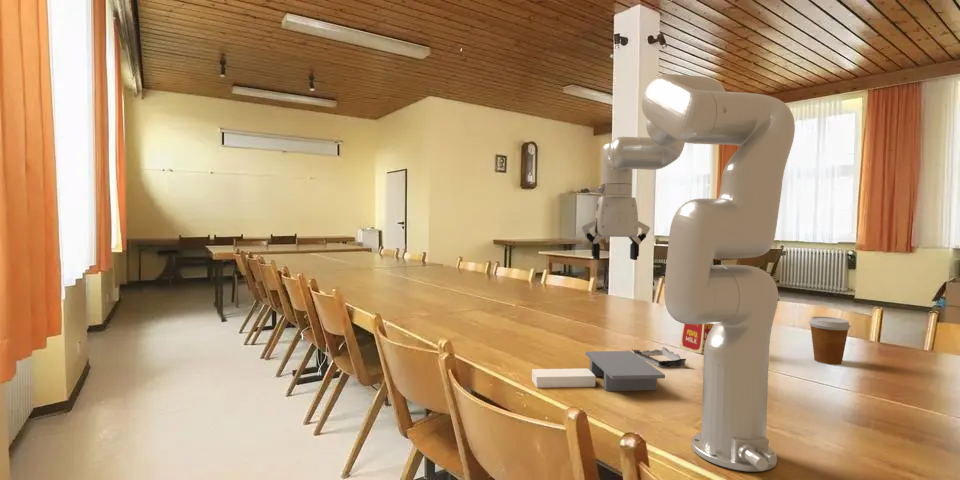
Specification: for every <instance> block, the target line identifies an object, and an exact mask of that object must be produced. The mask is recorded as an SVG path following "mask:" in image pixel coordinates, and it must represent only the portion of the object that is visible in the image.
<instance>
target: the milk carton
mask: <svg viewBox="0 0 960 480" xmlns="http://www.w3.org/2000/svg"><path fill="white" fill-rule="evenodd" d="M713 325H714V324H684V323H683V327H682V332H681V338H680V343H679V349H682V350H685V351H688V352H691V353H692V352H693V353H696V354H700V355H702V354H703V355H704V346H705V342H706V339H707V336H708V334H709V332H710V330H711V328H712V327H713Z"/></svg>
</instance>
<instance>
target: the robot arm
mask: <svg viewBox="0 0 960 480" xmlns="http://www.w3.org/2000/svg"><path fill="white" fill-rule="evenodd" d="M641 109H642V113H643V114H644V116H645V118H646V122H645V124H646V125H645V126H646V127H645V128H646V131H647V134H648V136H649V137H647V136H646V137H644V136H618V137H615V138H614V139H613V140H612V141H611V142H607V143H605V144H604V145H603V146H602V149H601V150H602V151H601V182H600V184H601V185H600V186H599V187H598V186H596V187H595V193H598V194H600V197H598V200H597V205H596V209H595V216H594V219H593V220H592V221H590V222H587V223H586V224H584V225H582V226H581V230H582V232H583V234H584V237H585V238H586V239H587V240H588V241H589V242H590V244H591V257H593V260H594V261H595V260H597V261H599V260H600V259H601V258H600V253H601V252H600V251H601V246H600V244H599V242H600V241H601V240H602V238H603V237H609V238H615V237H616V238H617V237H618V238H621V237H622V238H623V237H624V238H625V237H626V238H629V240H630V242H631V243H630V245H629V246H630V247H629V249H630V251H629V259H630V260H633V261H638V257H639V256H640V245H641V243H642V242H643V241H644V240H645V239H646V237H647V235H648V234H649V231H650V230H651V227H650V226H648V225H646V223H645V224H644V223H643V222H641V221H639V213H638V205H637V200H636V197H633V170H645V171H646V170H649V171H650V170H651V171H652V170H660V169H663V168H665V167H668V166H669V165H670V164H672V163H674V162H676V160H678V159H679V157H680V156H681V154H682V152H683V150H684V147H685V144H694V145H695V144H697V145H715V146H717V145H727V146H739V148H737V150H736V151H735V152H734V153H733V154H732V156H730V158H729V159H728V161H727V163H726V164H725V167H724V168H723V171H722V176H721V184H720V191H719V195H718V198H696V199H690V200H688V201H685V202H684V203H683V204H682V205H681V206H680V207H678V209H677V210H676V212H675V214H674V215H673V218H672V221H671V223H670V228H669V235H668V245H667V252H666V253H667V254H666V265H665V275H664V284H663V285H664V288H663V295H664V303H665V307H666V309H667V312H668V314H669V316H670V317H671V318H672V319H673V320H674V321H677V322H678V323H681V324H683V325H684V324H714V325H713V327H712V328H711V330H710V332H709V334H708V336H707V339H706V342H705V346H704V354H703V368H702V369H703V370H702V407H701V410H702V411H701V412H702V413H701V416H702V417H701V431H700V432H698V433H696V434H694V435H693V436H692V437H691V448H692V450H693V451H694V453H696V454H697V455H698V456H699V457H700V458H702V459H703V460H705V461H707V462H709V463H711V464H713V465H717V466H720V467H722V468H726V469H729V470H730V469H731V470H735V471H741V472H752V473H753V472H754V473H756V472H765V471H768V470H771V469H773V468H774V467H776V466H777V462H778V458H777V457H778V456H777V454H776V452H775V451H774V450H773V448H771V447H770V445H769V442H770V440H769V438H767V421H768V419H767V417H768V391H769V390H768V388H769V361H770V360H769V359H770V357H769V356H770V355H769V354H770V342H771V334H772V328H773V324H774V319H775V316H776V312H777V308H778V303H779V291H778V290H779V289H778V286H777V284H776V282H775V280H774V278H773V277H772V275H770V274H769V273H768V272H767V271H765V270H763V269H761V268H759V267H756V266H751V265H747V264H744V265H743V264H715V265H714V264H713V261H714V259H747V258H757V257H760V256H764V255H765V254H766V253H768V252H769V251H770V250H771V249H772V247H773V244H774V242H775V238H776V232H777V226H778V219H779V213H780V212H779V210H780V204H781V197H782V189H783V181H784V180H783V179H784V174H785V169H786V166H787V163H788V158H789V155H790V153H791V150H792V147H793V142H794V140H795V131H796V124H795V123H796V122H795V118H794V115H793V112H792V111H791V108H790V107H789V106H788V104H787V103H785V102H784V101H782V100H781V99H779V98H777V97H774V96H771V95H767V94H763V93H762V94H761V93H752V92H743V91H742V92H740V91H739V92H738V91H726V90H725V88H724V86H723V85H722V84H721V82H719V81H718V80H716V79H714V78H712V77H708V76H703V75H702V76H701V75H690V74H688V75H687V74H675V73H665V74H660V75H658V76H657V77H655V78H654V79H652V80H651V81H650V82H649V83H648V84H647V86H646V88H645V89H644V92H643V95H642V100H641ZM593 227H594V235H593V234H592V233H591V232H590V229H591V228H593ZM639 229H641V232H640V233H639ZM638 233H639V234H638Z"/></svg>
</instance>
